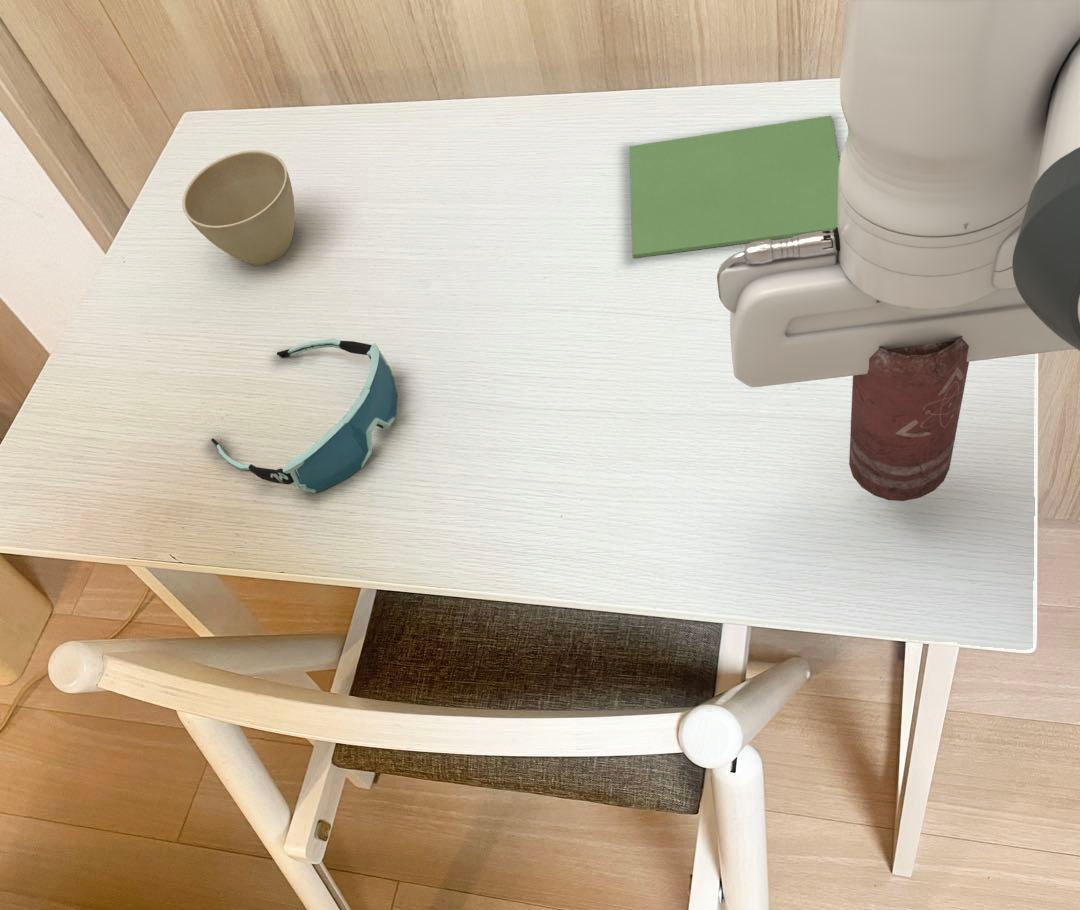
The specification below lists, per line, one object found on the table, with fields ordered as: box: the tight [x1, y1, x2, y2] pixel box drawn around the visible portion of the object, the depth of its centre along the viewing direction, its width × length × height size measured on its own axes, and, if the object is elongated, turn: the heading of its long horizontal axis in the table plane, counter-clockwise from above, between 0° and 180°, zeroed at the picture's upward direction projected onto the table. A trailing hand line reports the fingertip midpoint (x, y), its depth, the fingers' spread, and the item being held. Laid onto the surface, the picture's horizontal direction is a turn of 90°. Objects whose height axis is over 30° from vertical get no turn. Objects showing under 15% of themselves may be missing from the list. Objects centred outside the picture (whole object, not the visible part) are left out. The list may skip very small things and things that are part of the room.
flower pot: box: [181, 149, 296, 266], centre depth 96 cm, size 10×10×7 cm
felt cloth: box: [629, 115, 840, 259], centre depth 90 cm, size 18×14×1 cm
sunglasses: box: [210, 338, 398, 494], centre depth 84 cm, size 14×15×5 cm
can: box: [848, 336, 970, 502], centre depth 61 cm, size 6×6×14 cm
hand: (911, 398), depth 61 cm, fingers closed, pressing on can
